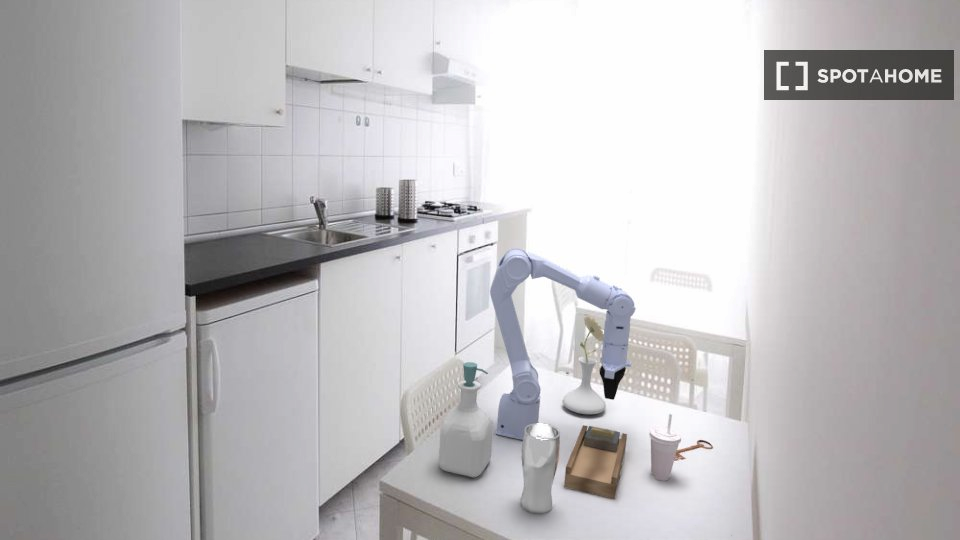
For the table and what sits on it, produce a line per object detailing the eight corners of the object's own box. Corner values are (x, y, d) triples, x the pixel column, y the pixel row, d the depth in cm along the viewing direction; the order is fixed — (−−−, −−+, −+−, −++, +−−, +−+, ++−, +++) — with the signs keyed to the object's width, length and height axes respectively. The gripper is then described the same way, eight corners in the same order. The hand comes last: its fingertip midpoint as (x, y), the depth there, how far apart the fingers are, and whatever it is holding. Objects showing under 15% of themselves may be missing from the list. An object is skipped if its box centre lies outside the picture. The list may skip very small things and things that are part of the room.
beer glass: (515, 493, 111) (520, 422, 108) (550, 493, 112) (556, 422, 109) (520, 515, 104) (526, 439, 102) (558, 515, 105) (564, 440, 102)
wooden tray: (564, 486, 114) (565, 466, 114) (581, 443, 133) (582, 425, 132) (614, 499, 111) (616, 478, 110) (625, 452, 130) (627, 434, 129)
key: (675, 467, 126) (722, 453, 133) (675, 463, 126) (723, 450, 132) (656, 452, 131) (702, 440, 138) (657, 449, 131) (703, 437, 137)
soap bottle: (479, 482, 114) (485, 375, 110) (435, 472, 117) (439, 367, 113) (493, 460, 123) (499, 360, 119) (452, 451, 126) (456, 353, 122)
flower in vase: (609, 419, 146) (618, 326, 141) (564, 417, 146) (573, 323, 141) (599, 399, 159) (608, 312, 154) (558, 396, 159) (566, 310, 154)
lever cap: (583, 445, 125) (585, 432, 125) (588, 433, 131) (589, 421, 130) (616, 452, 123) (617, 439, 123) (619, 440, 129) (620, 428, 128)
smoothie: (678, 486, 117) (686, 422, 114) (645, 481, 118) (653, 418, 116) (674, 470, 123) (681, 409, 120) (643, 465, 124) (650, 405, 122)
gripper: (630, 354, 123) (624, 412, 126) (636, 336, 137) (630, 389, 139) (597, 349, 126) (592, 406, 128) (606, 332, 139) (601, 384, 142)
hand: (609, 397), depth 134 cm, fingers closed
